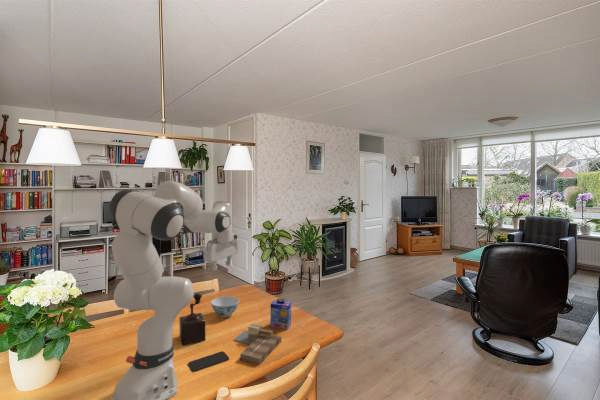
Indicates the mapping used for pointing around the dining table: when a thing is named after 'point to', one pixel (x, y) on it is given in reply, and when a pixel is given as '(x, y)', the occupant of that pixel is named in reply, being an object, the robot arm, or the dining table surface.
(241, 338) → the slate pad
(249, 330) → the marking gauge
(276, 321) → the ink cartridge box
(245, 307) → the dining table surface
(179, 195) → the robot arm
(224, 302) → the chinaware
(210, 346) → the dining table surface
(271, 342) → the walnut board
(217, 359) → the phone
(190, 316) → the coffee grinder
